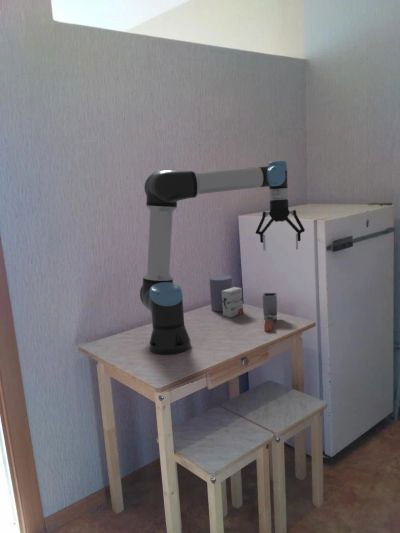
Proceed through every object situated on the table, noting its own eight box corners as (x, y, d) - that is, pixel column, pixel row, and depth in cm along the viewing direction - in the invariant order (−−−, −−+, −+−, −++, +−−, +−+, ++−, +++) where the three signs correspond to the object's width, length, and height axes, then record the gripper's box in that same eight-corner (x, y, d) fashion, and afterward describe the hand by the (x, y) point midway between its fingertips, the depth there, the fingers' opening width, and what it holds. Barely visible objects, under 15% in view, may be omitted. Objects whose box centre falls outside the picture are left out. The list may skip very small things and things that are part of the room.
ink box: (235, 311, 216) (234, 286, 213) (243, 313, 212) (242, 287, 210) (222, 316, 210) (220, 290, 208) (230, 318, 206) (228, 291, 204)
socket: (263, 314, 197) (262, 296, 196) (264, 311, 202) (263, 293, 201) (276, 314, 196) (276, 296, 195) (277, 311, 201) (276, 292, 200)
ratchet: (261, 331, 186) (260, 312, 184) (264, 318, 203) (263, 299, 201) (275, 331, 185) (274, 311, 183) (277, 317, 202) (276, 299, 200)
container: (206, 310, 221) (204, 279, 218) (220, 304, 229) (218, 274, 226) (224, 313, 214) (222, 280, 212) (237, 307, 222) (236, 276, 219)
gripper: (247, 201, 195) (250, 252, 199) (309, 197, 190) (311, 249, 194) (249, 200, 202) (252, 249, 206) (309, 196, 197) (310, 247, 201)
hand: (280, 249), depth 200 cm, fingers open, 13 cm apart
